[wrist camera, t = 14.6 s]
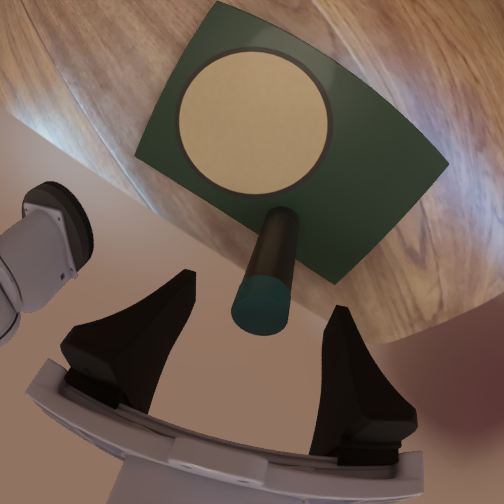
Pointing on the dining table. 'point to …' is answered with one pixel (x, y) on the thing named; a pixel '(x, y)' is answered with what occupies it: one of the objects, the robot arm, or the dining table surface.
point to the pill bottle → (269, 276)
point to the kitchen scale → (287, 140)
